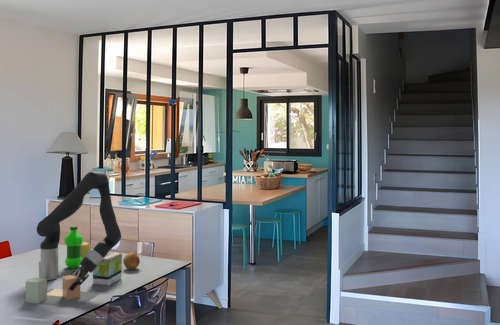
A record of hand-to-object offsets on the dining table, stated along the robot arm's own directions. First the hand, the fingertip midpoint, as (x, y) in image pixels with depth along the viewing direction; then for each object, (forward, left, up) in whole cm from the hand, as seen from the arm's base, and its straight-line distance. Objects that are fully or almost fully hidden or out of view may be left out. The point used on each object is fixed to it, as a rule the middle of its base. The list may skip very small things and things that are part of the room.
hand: (68, 287), depth 241 cm
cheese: (-38, +73, -6) cm, 83 cm away
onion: (+5, +58, -6) cm, 59 cm away
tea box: (+4, +31, -6) cm, 32 cm away
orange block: (+1, +1, -5) cm, 5 cm away
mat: (-2, -1, -5) cm, 6 cm away
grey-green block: (-12, -8, -5) cm, 15 cm away
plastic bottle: (-30, +52, -6) cm, 60 cm away
